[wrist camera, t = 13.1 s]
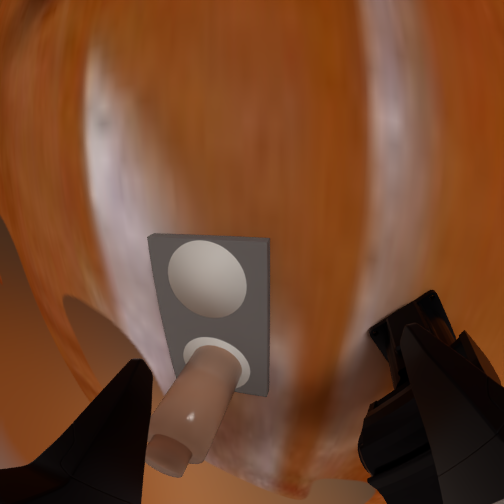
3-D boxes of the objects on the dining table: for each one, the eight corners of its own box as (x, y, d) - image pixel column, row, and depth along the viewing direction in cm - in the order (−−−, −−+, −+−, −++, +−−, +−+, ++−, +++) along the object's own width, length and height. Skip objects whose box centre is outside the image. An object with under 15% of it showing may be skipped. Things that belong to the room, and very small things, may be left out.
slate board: (153, 233, 23) (146, 237, 22) (269, 238, 21) (266, 242, 20) (180, 373, 28) (176, 379, 27) (268, 390, 26) (266, 397, 25)
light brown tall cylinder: (249, 360, 24) (201, 474, 13) (232, 390, 26) (187, 487, 15) (199, 336, 24) (130, 437, 13) (188, 368, 26) (129, 458, 15)
